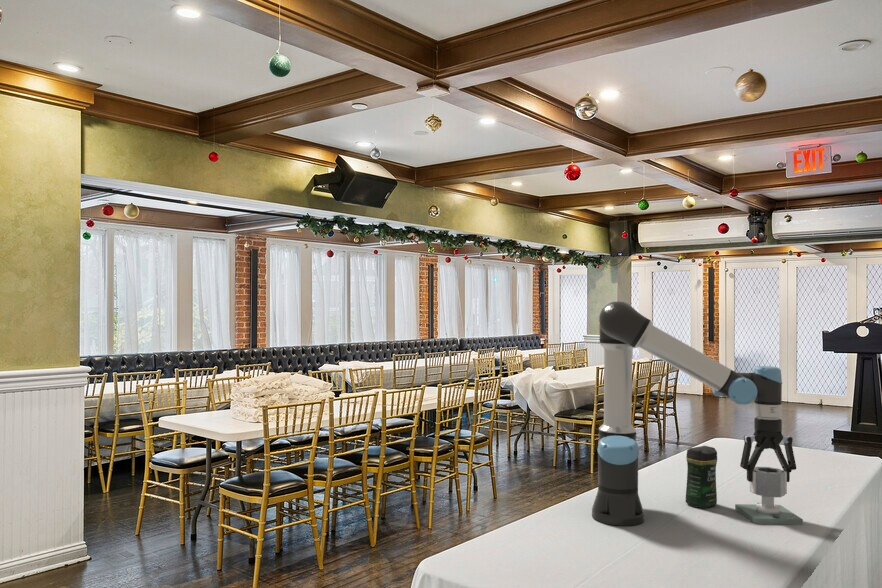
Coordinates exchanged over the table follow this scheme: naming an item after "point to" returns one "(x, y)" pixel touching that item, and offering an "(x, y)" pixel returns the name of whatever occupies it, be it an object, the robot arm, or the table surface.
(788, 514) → the stand
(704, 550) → the table surface
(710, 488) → the coffee jar
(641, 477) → the table surface
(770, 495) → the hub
